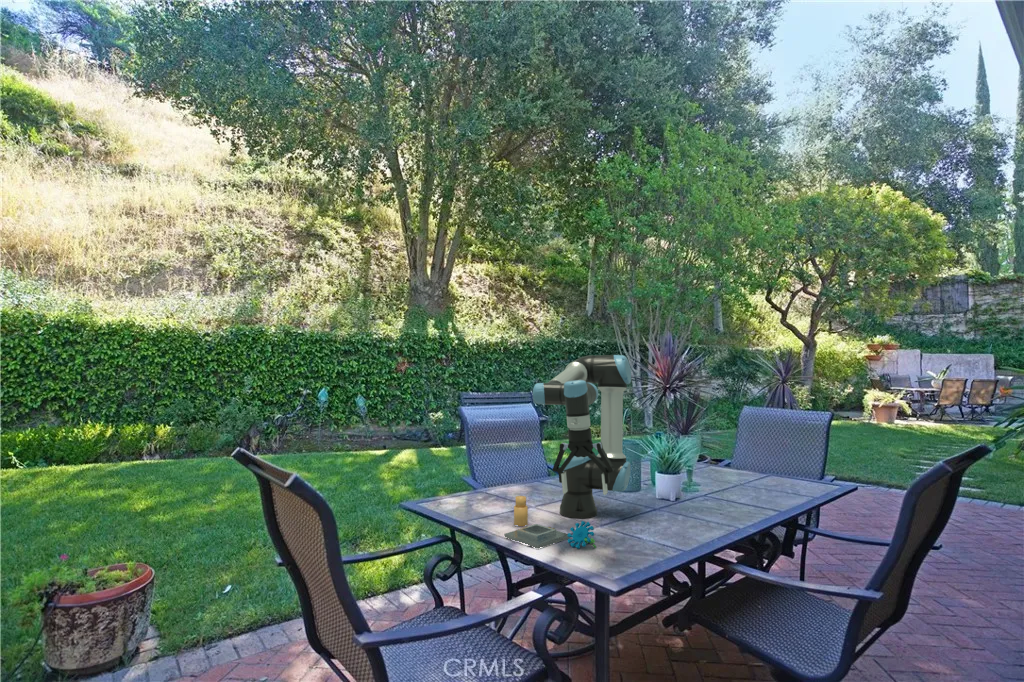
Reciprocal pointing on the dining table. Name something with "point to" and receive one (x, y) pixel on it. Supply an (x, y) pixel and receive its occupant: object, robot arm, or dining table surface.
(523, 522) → the stacked tan cylinders
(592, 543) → the gear
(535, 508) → the dining table surface
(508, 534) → the junction box
